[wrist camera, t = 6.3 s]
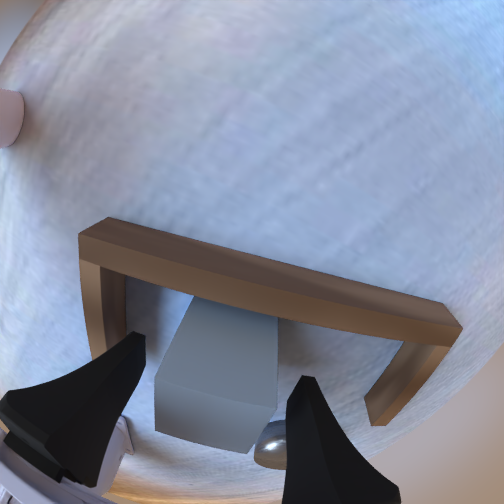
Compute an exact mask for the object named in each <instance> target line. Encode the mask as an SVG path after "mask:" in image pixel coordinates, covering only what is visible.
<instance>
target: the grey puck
mask: <svg viewBox="0 0 504 504" xmlns="http://www.w3.org/2000/svg"><path fill="white" fill-rule="evenodd" d="M254 461H255V462H256V463H257V464H259V465H261V466H263V467H266V468H270V469H278V470H286V466H287V451H286V422H285V420H279V421H274V422H270V423H268V424H267V425H266V427H265V428H264V430H263V431H262V433H261V434H260V436H259V437H258V439H257V440H256V442H255V451H254Z"/></svg>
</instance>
